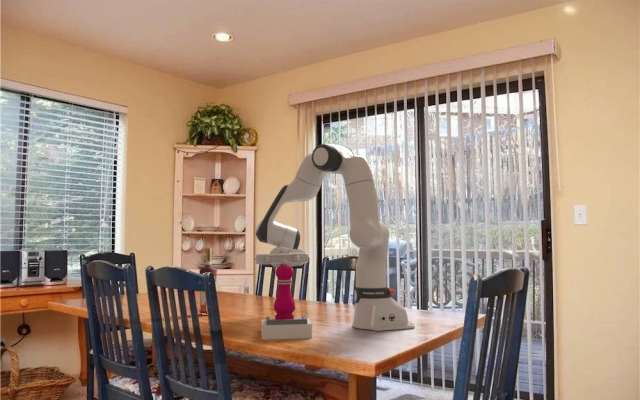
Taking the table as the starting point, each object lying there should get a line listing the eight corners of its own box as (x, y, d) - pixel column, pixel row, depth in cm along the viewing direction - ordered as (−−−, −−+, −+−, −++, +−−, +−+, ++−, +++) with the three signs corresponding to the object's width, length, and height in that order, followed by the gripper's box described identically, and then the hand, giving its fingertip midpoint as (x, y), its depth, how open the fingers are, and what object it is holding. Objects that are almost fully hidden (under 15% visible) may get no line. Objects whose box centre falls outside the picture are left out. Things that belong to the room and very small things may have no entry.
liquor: (217, 313, 206) (217, 248, 209) (215, 315, 199) (216, 248, 201) (199, 313, 205) (200, 248, 208) (197, 316, 198) (198, 248, 201)
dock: (307, 329, 167) (307, 312, 168) (312, 338, 153) (311, 319, 154) (261, 331, 165) (261, 313, 165) (262, 339, 151) (262, 320, 152)
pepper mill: (298, 319, 161) (298, 259, 163) (290, 322, 154) (290, 260, 156) (278, 318, 163) (278, 259, 165) (270, 321, 156) (270, 260, 158)
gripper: (254, 250, 188) (254, 251, 174) (305, 249, 191) (310, 249, 177) (254, 266, 187) (255, 268, 174) (306, 265, 190) (310, 266, 177)
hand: (283, 259), depth 175 cm, fingers open, 8 cm apart
